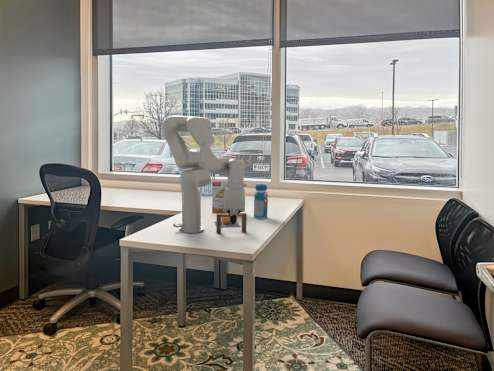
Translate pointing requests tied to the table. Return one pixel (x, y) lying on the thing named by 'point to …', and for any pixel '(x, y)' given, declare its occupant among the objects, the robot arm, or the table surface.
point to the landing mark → (228, 224)
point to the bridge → (219, 215)
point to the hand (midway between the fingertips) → (233, 223)
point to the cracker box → (218, 195)
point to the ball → (226, 220)
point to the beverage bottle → (260, 202)
